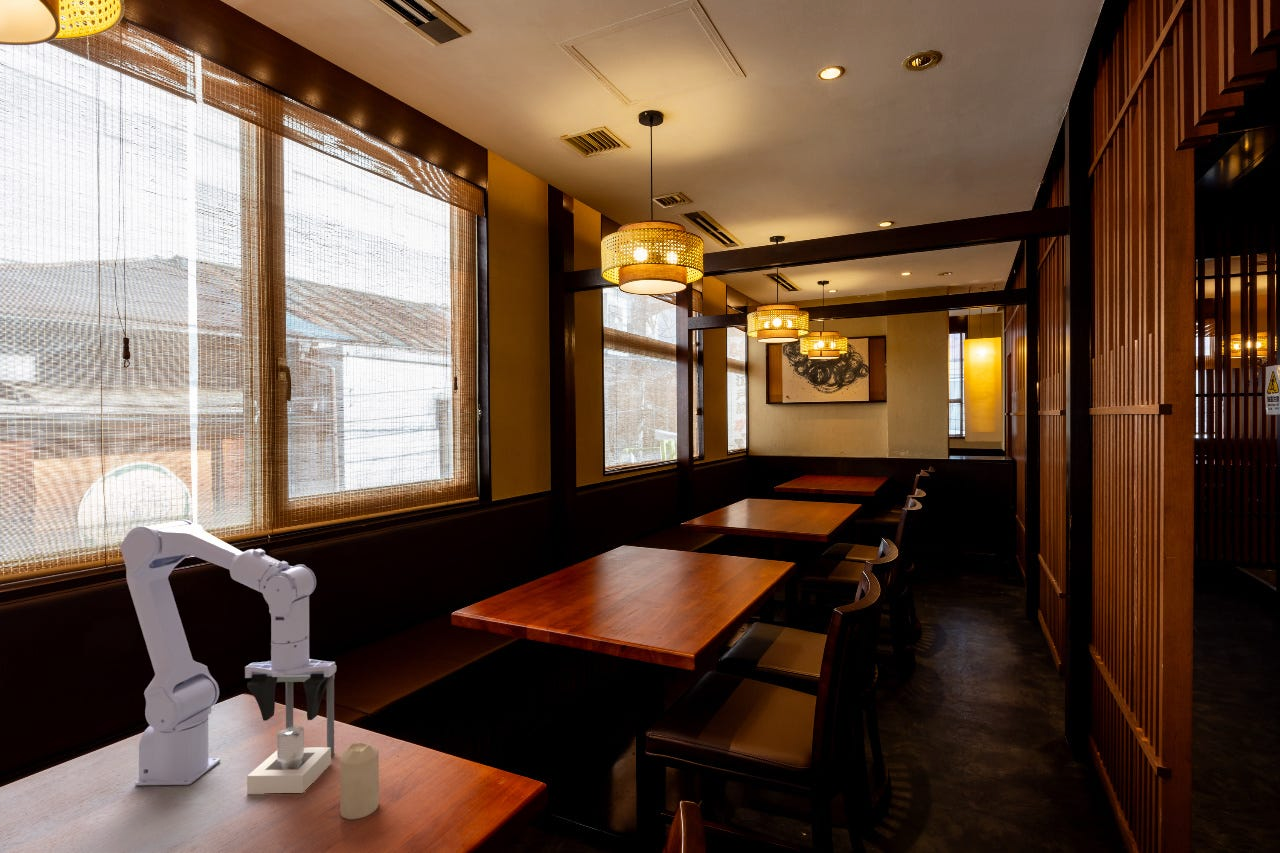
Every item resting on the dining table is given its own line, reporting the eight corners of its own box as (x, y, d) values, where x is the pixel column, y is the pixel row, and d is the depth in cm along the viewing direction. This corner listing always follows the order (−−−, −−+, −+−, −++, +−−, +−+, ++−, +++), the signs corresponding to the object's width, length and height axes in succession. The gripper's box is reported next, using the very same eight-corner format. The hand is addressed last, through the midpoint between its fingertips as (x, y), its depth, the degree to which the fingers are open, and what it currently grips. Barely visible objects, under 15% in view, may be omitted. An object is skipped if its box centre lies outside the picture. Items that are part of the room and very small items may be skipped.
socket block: (247, 794, 102) (247, 775, 102) (279, 764, 111) (279, 747, 111) (302, 793, 102) (302, 775, 102) (330, 764, 111) (330, 747, 111)
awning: (272, 766, 111) (272, 676, 111) (288, 752, 116) (288, 666, 116) (323, 765, 111) (322, 675, 111) (336, 751, 116) (336, 665, 116)
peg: (284, 772, 109) (284, 726, 109) (308, 771, 109) (308, 725, 109) (272, 785, 105) (272, 737, 105) (297, 784, 105) (297, 736, 105)
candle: (385, 799, 100) (385, 737, 100) (367, 821, 95) (366, 755, 95) (353, 798, 101) (352, 736, 101) (333, 819, 95) (332, 753, 95)
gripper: (233, 646, 103) (233, 729, 103) (320, 646, 103) (320, 728, 103) (259, 633, 110) (259, 710, 110) (340, 632, 110) (341, 709, 110)
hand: (290, 717), depth 107 cm, fingers open, 7 cm apart
